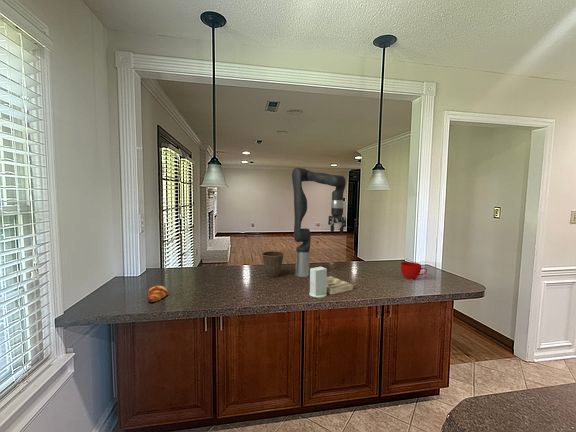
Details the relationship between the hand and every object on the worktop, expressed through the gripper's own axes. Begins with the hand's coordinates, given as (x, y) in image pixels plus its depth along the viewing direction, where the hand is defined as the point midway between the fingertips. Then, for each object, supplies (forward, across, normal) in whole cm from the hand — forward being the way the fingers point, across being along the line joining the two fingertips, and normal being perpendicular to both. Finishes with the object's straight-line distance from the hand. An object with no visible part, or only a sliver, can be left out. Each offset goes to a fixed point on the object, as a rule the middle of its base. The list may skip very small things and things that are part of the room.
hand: (336, 232), depth 186 cm
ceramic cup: (+33, +19, +53) cm, 65 cm away
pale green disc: (+33, +10, -22) cm, 41 cm away
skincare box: (+33, +10, -22) cm, 41 cm away
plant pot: (+33, -35, -27) cm, 55 cm away
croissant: (+34, -32, -101) cm, 111 cm away
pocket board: (+33, +4, -7) cm, 34 cm away
